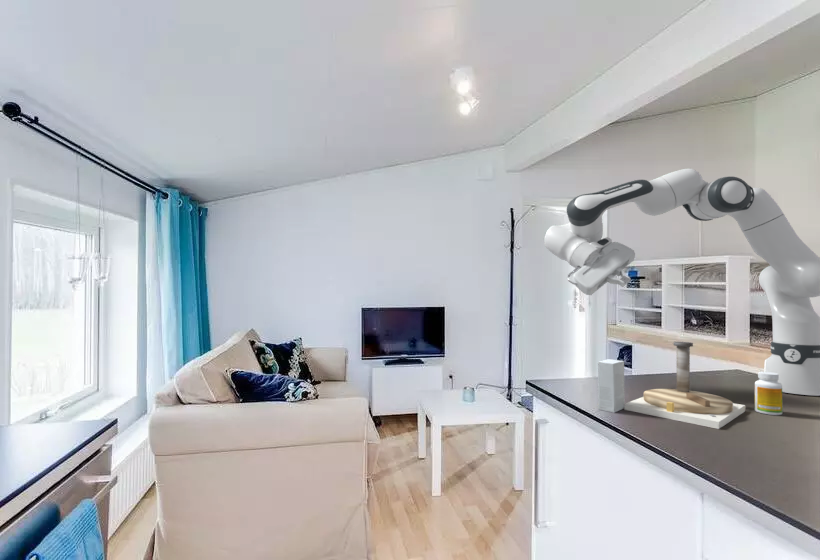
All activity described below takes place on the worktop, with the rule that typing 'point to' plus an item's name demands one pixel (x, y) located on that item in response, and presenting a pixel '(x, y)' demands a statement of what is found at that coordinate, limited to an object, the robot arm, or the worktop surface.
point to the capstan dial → (687, 390)
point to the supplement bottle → (768, 394)
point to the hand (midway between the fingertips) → (627, 282)
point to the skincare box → (611, 385)
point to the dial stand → (685, 413)
